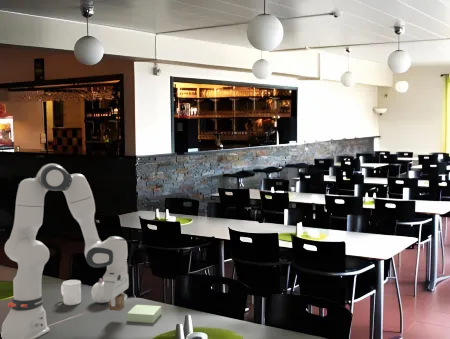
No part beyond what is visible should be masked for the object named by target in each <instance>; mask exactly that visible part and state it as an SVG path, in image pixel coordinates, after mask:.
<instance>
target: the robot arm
mask: <svg viewBox="0 0 450 339" xmlns="http://www.w3.org/2000/svg"><path fill="white" fill-rule="evenodd" d="M48 191H54V192H57V191H60V192H63V194H64V196H65V199H66V203H67V206H68V209H69V211H70V214H71V215H72V217H73V218H74V220H75V221H76V222H77V223H78V224H79V226H80V229H81V232H82V236H83V238H84V249H83V254H84V257H85V260H86V263H87V264H88V266H90V267H92V268H98V269H99V268H103V267H106V271H105V273H104V274H103V276H102V281H103V282H104V285H103V292H104V298H105V299H109V300H110V301H111V306H116V301H115V299H116V296H118V295H119V294H124V292H125V291H126V290H127V289H129V285H130V282H129V273H128V262H127V261H128V260H127V259H128V256H129V254H128V253H129V252H128V243H127V240H126V239H125V238H123V237H121V236H116V235H114V236H109V237H107V239H105V240H104V241H103V240H101V238H100V237H99V234H98V230H97V227H96V222H95V215H96V214H95V213H96V204H95V203H96V202H95V199H94V195H93V191H92V189H91V186H90V184H89V182H88V181H87V178H86V177H85V175H83V174H81V173H72V174H70V173H69V171H67V170H66V169H65V168H64V167H63V166H61V165H60V164H58V163H53V162H52V163H46V164H43V166H41V167H40V169H39V170H38V172H37V173H36V175H35V176H34V177H33V178H32V177H29V178H24V179H23V180H21V181H20V183H19V185H18V188H17V192H16V199H15V207H14V208H15V209H14V220H13V226H12V229H11V233H10V236H9V238H8V239H7V241H6V242H5V244H4V253H5V255H6V256H7V258H9V260H11V261H13V262H16V263H17V267H18V268H17V272H16V275H15V277H13V280H12V283H13V284H12V287H13V288H12V289H13V293H12V294H13V297H12V299H11V301H9V302H8V303H7V307H8V308H10V310H9V312H8V314H7V316H6V317H5V319H4V321H3V323H2V325H1V332H0V333H1V337H2V339H37V338H38V337H41V336H42V335H45V334H46V333H48V332H50V327H49V326H48V323H47V322H48V321H47V312H46V310H45V309H44V307H43V304H44V296H43V294H42V278H43V277H42V276H43V271H44V268H45V265H46V264H47V262H48V261H49V259H50V255H51V254H50V250H49V248H48V247H47V246H46V245H45V244H44V243H43V242H42V241H40V240H36V238H37V237H36V236H37V234H38V231H39V229H40V228H41V226H42V225H43V221H44V220H43V219H44V209H45V208H44V206H45V196H46V194H47V192H48Z"/></svg>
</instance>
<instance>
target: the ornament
mask: <svg viewBox="0 0 450 339" xmlns="http://www.w3.org/2000/svg"><path fill="white" fill-rule="evenodd" d="M104 282H105V281H103V278H99V279H98V282H96V283H95V284H93V285H92V287H91V290H90V291H91V294H90V296H91V298H92V300H93V301H94V302H95V303H97V304H106V303H109V299H105V298H104V292H103V285H104Z"/></svg>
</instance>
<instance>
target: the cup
mask: <svg viewBox="0 0 450 339" xmlns="http://www.w3.org/2000/svg"><path fill="white" fill-rule="evenodd" d="M60 293H61V295H62V298H63V301H62V302H63V304H64V305H66V306H75V305H78V304H79V305H80V303H81V301H82V282H81V280H79V279H69V280H65V281H63V282H62V283H61V285H60Z"/></svg>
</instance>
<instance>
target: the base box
mask: <svg viewBox="0 0 450 339" xmlns="http://www.w3.org/2000/svg"><path fill="white" fill-rule="evenodd" d="M161 315H162V306H161V305H150V304H148V305H147V304H135V305H134V306H133V307H132V308H131V309H130V310H129V311H127V313H126V316H127V317H126V321H127V322H133V323H147V324H154V323H155V322H156V321H157V320H158V319H159V317H160V316H161Z"/></svg>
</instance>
